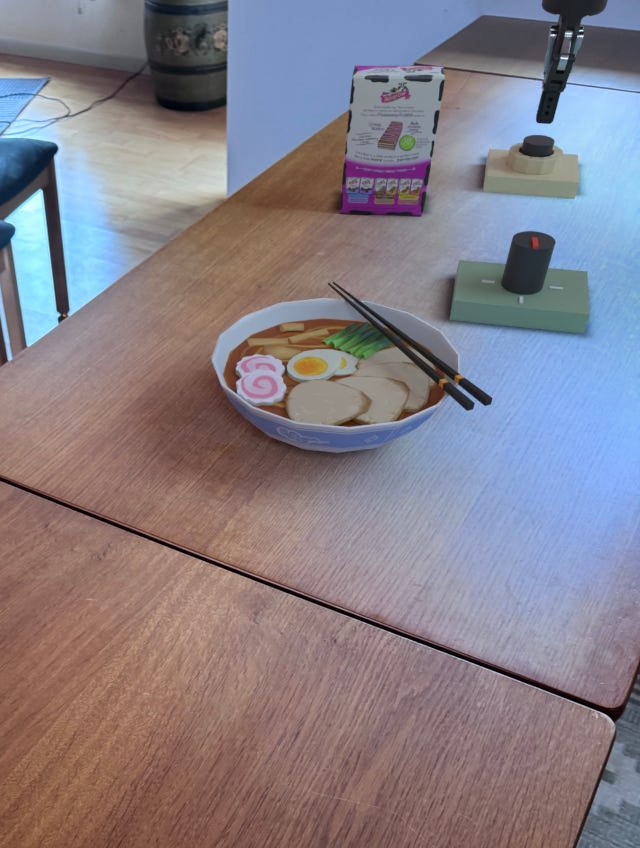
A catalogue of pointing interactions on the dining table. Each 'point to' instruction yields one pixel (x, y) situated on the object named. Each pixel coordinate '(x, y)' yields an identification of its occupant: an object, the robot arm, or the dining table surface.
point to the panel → (520, 299)
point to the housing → (531, 173)
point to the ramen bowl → (338, 372)
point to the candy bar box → (390, 139)
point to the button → (537, 146)
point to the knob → (528, 262)
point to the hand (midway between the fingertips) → (543, 121)
